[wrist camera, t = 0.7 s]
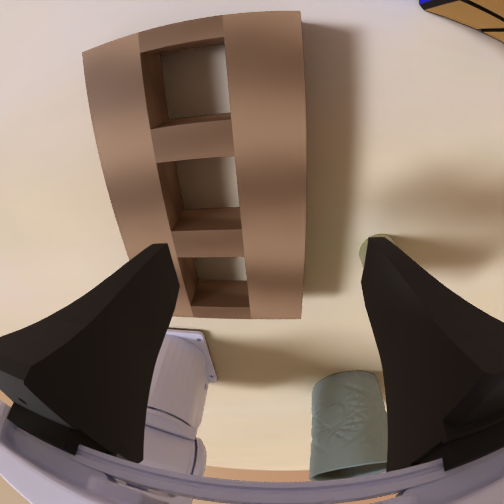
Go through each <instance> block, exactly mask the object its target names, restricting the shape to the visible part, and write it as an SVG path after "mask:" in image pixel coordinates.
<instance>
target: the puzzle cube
mask: <svg viewBox="0 0 504 504" xmlns="http://www.w3.org/2000/svg"><path fill="white" fill-rule="evenodd" d="M419 4H420V6H421V7H422V8H423V9H424V10H426V11H429V12H432V13H435V14H438V15H441V16H444V17H447V18H450V19H452V20H455V21H458V22H460V23H463V24H465V25H468V26H470V27H472V28H475V29H481V31H482V32H483V33H486V34H488V35H490V36H492V37H494V38H496V39H498V40H500V41H502V42H504V0H419Z"/></svg>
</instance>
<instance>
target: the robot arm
mask: <svg viewBox="0 0 504 504" xmlns="http://www.w3.org/2000/svg"><path fill="white" fill-rule="evenodd" d="M361 285H362V290H363V296H364V301H365V307H366V310H367V313H368V317H369V320H370V323H371V327H372V330H373V333H374V337H375V340H376V344H377V347H378V351H379V354H380V359H381V363H382V368H383V376H384V383H385V392H386V404H387V424H388V447H387V466H386V472H385V473H379V474H374V475H368V476H361V477H354V478H346V479H337V480H326V481H311V482H252V481H238V480H227V479H217V478H209V477H203V474H204V470H205V465H206V448H205V446H204V444H203V442H202V440H201V439H200V438H197V437H196V434H197V429H198V427H199V425H200V423H201V420H202V415H203V410H204V405H205V399H206V394H207V389H208V384H209V382H217V376H216V373H215V369H214V366H213V363H212V360H211V357H210V353H209V350H208V347H207V343H206V340H205V337H204V334H203V333H202V332H200V331H188V330H173V329H168V327H169V324H170V321H171V318H172V316H173V313H174V310H175V306H176V302H177V298H178V293H179V288H180V284H179V281H178V277H177V274H176V271H175V267H174V264H173V260H172V257H171V253H170V250H169V246H168V243H157V244H152V245H150V246H148V247H147V248H146V249H144V250H143V251H141V252H140V253H139V254H137V255H136V256H135V257H134V258H132V259H131V260H130V261H129V262H127V263H126V264H125V265H123V266H122V267H121V268H120V269H118V270H117V271H116V272H115V273H113V274H112V275H111V276H109V277H108V278H107V279H105V280H104V281H103V282H101V283H100V284H99V285H98V286H96V287H95V288H94V289H92V290H91V291H89V292H88V293H86V294H85V295H84V296H82V297H81V298H79V299H77V300H76V301H74V302H73V303H71V304H70V305H68V306H66V307H64V308H63V309H61V310H59V311H57V312H56V313H54V314H52V315H50V316H48V317H47V318H45V319H43V320H41V321H39V322H36V323H34V324H32V325H30V326H28V327H25V328H23V329H21V330H18V331H15V332H13V333H10V334H7V335H4V336H2V337H0V390H2V392H4V393H5V394H6V395H7V396H8V397H9V398H10V399H11V400H12V401H13V402H14V403H13V405H12V407H10V406H8V405H7V404H5V403H4V402H2V401H0V475H1V476H2V477H3V478H4V479H5V480H6V481H7V482H8V483H9V484H10V485H11V486H12V487H13V488H14V489H15V490H16V491H17V492H18V493H20V494H21V495H22V496H23V497H24V498H25V499H26V500H28V501H29V502H30V503H31V504H192V500H193V499H198V500H205V501H212V502H220V503H229V504H334V503H344V502H352V501H359V500H365V499H371V498H377V497H382V496H387V495H391V494H396V493H398V494H397V495H396V497H395V498H392V499H388V500H384V501H380V502H375V503H371V504H504V322H502V321H500V320H498V319H496V318H494V317H492V316H490V315H488V314H487V313H485V312H483V311H482V310H480V309H478V308H477V307H475V306H473V305H472V304H470V303H469V302H467V301H465V300H464V299H463V298H461V297H460V296H458V295H457V294H455V293H454V292H452V291H451V290H450V289H448V288H447V287H446V286H444V285H443V284H442V283H440V282H439V281H438V280H437V279H435V278H434V277H433V276H431V275H430V274H429V273H428V272H427V271H425V270H424V269H423V268H422V267H420V266H419V265H418V264H417V263H416V262H415V261H413V260H412V259H411V258H410V257H409V256H407V255H406V254H405V253H404V252H403V251H402V250H400V249H399V248H398V247H397V246H396V245H394V244H393V243H392V242H391V241H389V240H388V239H387V238H385V237H369V238H368V244H367V251H366V257H365V263H364V269H363V275H362V280H361Z"/></svg>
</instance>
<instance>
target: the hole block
mask: <svg viewBox="0 0 504 504" xmlns="http://www.w3.org/2000/svg"><path fill="white" fill-rule="evenodd" d="M218 44H225V54H226V65H227V76H228V88H229V99H230V110H231V113H223V114H212V115H203V116H195V117H187V118H180V119H173V120H168V113H167V106H166V98H165V91H164V82H163V74H162V65H161V56H160V55H161V54H166V53H170V52H175V51H180V50H186V49H191V48H197V47H204V46H211V45H218ZM82 56H83V65H84V74H85V81H86V88H87V95H88V101H89V108H90V113H91V119H92V124H93V129H94V134H95V139H96V144H97V148H98V153H99V157H100V161H101V166H102V170H103V174H104V178H105V182H106V185H107V189H108V193H109V196H110V200H111V203H112V207H113V210H114V214H115V217H116V220H117V224H118V227H119V230H120V233H121V236H122V239H123V242H124V245H125V248H126V251H127V254H128V257H129V260H131V259H132V258H134V257H135V256H136V255H137V254H139V253H140V252H141V251H143V250H144V249H146V248H147V247H148V246H150V245H152V244H157V243H168V246H169V250H170V253H171V257H172V260H173V264H174V267H175V271H176V274H177V277H178V281H179V284H180V288H179V293H178V298H177V302H176V306H175V310H174V313H173V316H176V317H197V318H225V319H301V313H302V297H303V280H304V259H305V232H306V178H307V153H306V100H305V75H304V56H303V40H302V26H301V14H300V11H266V12H249V13H238V14H229V15H220V16H213V17H206V18H200V19H194V20H189V21H184V22H179V23H174V24H170V25H166V26H161V27H157V28H153V29H150V30H146V31H142V32H139V33H136V34H132V35H129V36H126V37H123V38H120V39H117V40H114V41H111V42H108V43H105V44H103V45H100V46H97V47H95V48H92V49H90V50H87V51H85V52H82ZM226 156H235V164H236V174H237V184H238V195H239V205H240V207H236V208H210V209H189V210H184V209H183V204H182V198H181V193H180V188H179V182H178V176H177V171H176V165H175V161H179V160H189V159H199V158H212V157H226ZM194 257H245V265H246V275H247V281H199V279H198V275H197V271H196V266H195V262H194Z"/></svg>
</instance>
